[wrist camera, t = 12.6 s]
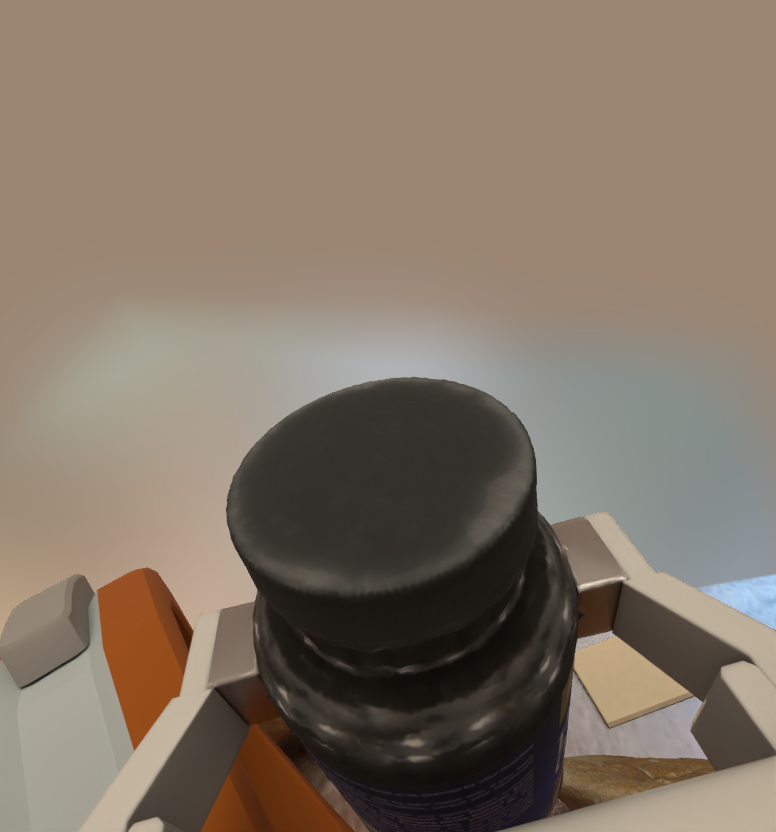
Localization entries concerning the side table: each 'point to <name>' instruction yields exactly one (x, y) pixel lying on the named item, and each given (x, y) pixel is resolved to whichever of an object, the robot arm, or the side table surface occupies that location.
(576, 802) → the fossil
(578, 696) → the side table surface
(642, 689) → the mat
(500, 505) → the pill bottle
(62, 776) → the alarm clock
